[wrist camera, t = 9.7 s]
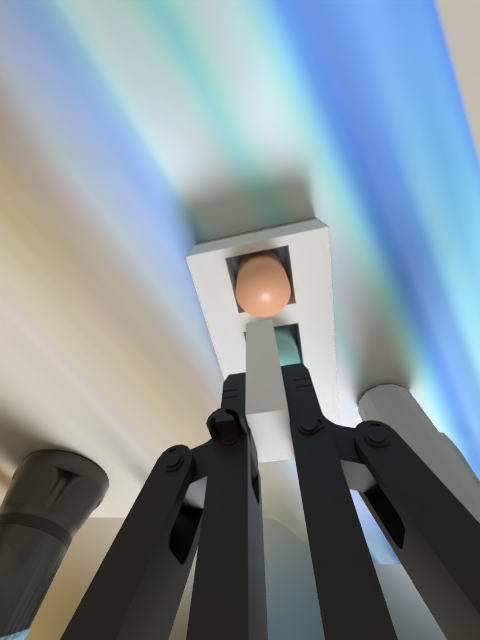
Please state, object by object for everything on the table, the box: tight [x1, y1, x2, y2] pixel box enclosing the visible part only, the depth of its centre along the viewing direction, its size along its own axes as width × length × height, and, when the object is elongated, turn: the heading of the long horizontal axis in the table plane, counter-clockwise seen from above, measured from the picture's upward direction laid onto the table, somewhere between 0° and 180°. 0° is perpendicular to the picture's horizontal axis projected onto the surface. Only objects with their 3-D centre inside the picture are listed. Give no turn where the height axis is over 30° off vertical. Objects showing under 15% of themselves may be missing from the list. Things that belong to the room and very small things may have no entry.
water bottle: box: [358, 384, 480, 523], centre depth 26 cm, size 9×8×25 cm
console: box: [186, 217, 339, 419], centre depth 29 cm, size 12×22×5 cm, turn 12°
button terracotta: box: [236, 250, 291, 317], centre depth 23 cm, size 4×4×5 cm
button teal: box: [274, 325, 301, 366], centre depth 27 cm, size 4×4×5 cm
